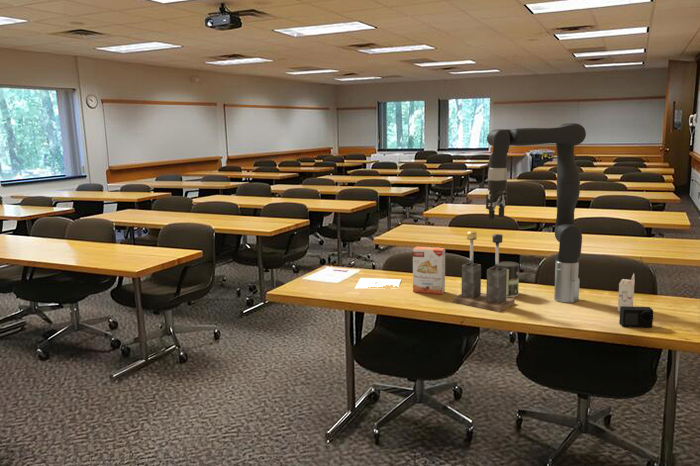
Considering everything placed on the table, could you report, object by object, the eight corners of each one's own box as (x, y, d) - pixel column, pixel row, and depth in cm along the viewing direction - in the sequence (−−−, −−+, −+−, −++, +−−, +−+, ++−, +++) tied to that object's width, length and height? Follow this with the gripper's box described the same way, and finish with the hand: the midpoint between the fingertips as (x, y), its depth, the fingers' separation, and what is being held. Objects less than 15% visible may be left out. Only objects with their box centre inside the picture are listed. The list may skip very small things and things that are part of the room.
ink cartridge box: (619, 305, 235) (621, 271, 232) (633, 307, 232) (635, 272, 230) (617, 311, 228) (619, 276, 225) (630, 313, 225) (633, 277, 223)
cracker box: (412, 292, 262) (412, 248, 258) (416, 289, 268) (415, 245, 264) (442, 295, 257) (442, 250, 253) (445, 291, 262) (445, 247, 258)
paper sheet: (406, 281, 283) (406, 279, 282) (392, 300, 256) (392, 297, 256) (361, 278, 290) (361, 276, 290) (343, 296, 263) (343, 294, 263)
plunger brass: (478, 273, 246) (478, 231, 242) (473, 275, 243) (473, 233, 239) (469, 272, 248) (469, 230, 245) (464, 274, 245) (465, 232, 242)
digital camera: (623, 328, 209) (624, 310, 208) (618, 323, 215) (620, 305, 213) (653, 329, 208) (654, 311, 206) (648, 324, 213) (649, 306, 212)
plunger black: (503, 277, 238) (504, 234, 235) (498, 279, 235) (499, 236, 231) (494, 276, 241) (495, 233, 237) (489, 278, 238) (490, 235, 234)
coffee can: (517, 291, 260) (518, 261, 257) (519, 297, 250) (520, 266, 247) (494, 290, 262) (495, 260, 259) (495, 296, 252) (496, 266, 249)
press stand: (514, 303, 242) (515, 267, 239) (499, 311, 231) (500, 274, 229) (468, 294, 256) (469, 260, 253) (452, 302, 246) (452, 266, 243)
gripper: (497, 180, 223) (496, 221, 226) (513, 177, 234) (512, 216, 236) (480, 179, 228) (479, 219, 231) (497, 177, 238) (496, 215, 241)
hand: (496, 218), depth 234 cm, fingers open, 8 cm apart
